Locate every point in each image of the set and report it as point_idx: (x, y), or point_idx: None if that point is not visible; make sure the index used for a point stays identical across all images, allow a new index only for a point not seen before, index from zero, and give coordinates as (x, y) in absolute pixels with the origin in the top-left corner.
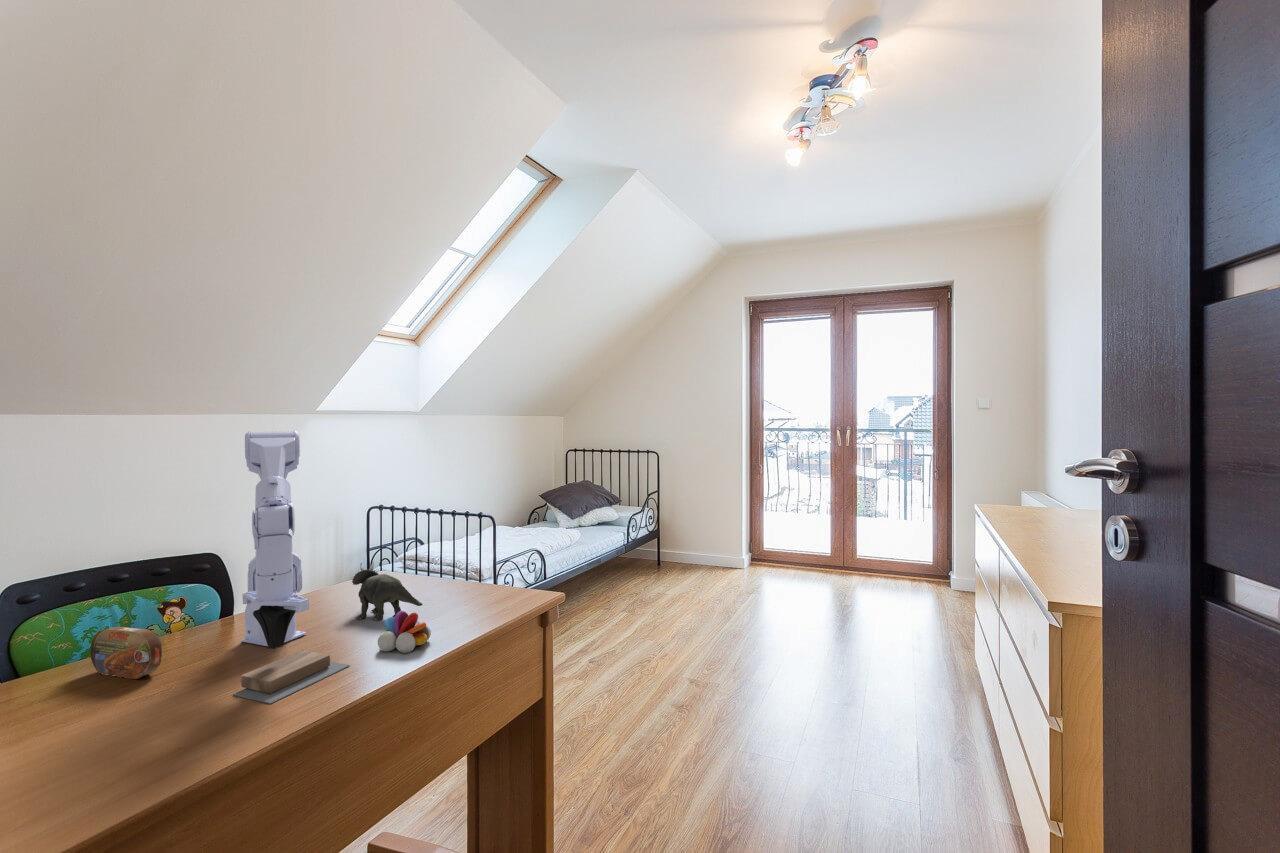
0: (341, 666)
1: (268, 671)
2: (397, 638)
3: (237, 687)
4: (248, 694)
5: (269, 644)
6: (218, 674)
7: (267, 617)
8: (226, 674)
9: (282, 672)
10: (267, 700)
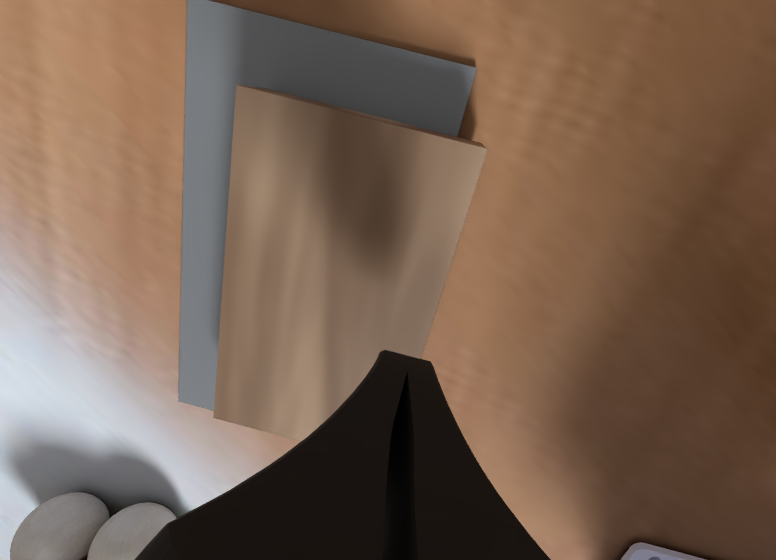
0: (198, 388)
1: (361, 221)
2: (63, 545)
3: (520, 164)
4: (383, 74)
5: (410, 368)
6: (735, 294)
7: (262, 552)
8: (688, 297)
9: (269, 215)
10: (225, 20)
